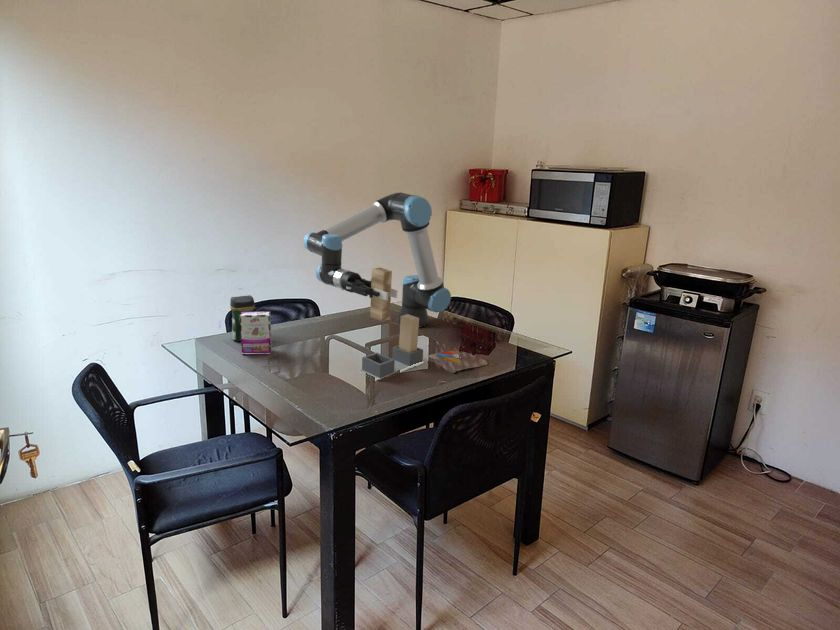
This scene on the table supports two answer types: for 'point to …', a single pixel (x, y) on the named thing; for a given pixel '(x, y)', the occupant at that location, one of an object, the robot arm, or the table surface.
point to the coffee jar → (237, 307)
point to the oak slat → (382, 282)
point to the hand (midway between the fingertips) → (391, 295)
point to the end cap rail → (396, 351)
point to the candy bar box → (255, 332)
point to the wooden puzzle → (446, 356)
